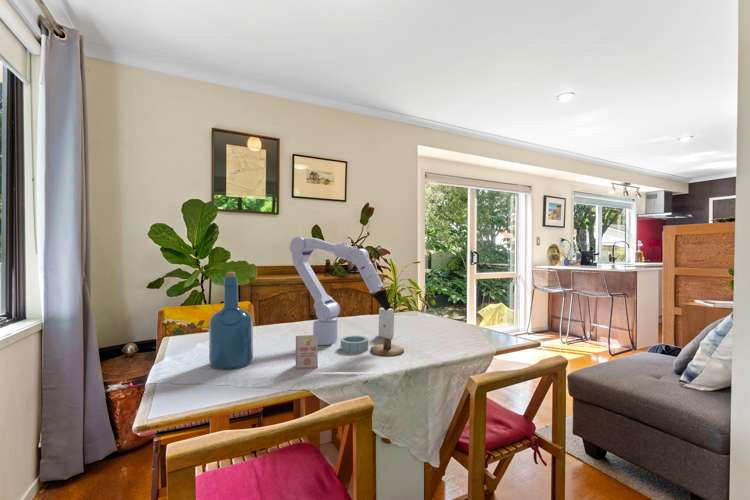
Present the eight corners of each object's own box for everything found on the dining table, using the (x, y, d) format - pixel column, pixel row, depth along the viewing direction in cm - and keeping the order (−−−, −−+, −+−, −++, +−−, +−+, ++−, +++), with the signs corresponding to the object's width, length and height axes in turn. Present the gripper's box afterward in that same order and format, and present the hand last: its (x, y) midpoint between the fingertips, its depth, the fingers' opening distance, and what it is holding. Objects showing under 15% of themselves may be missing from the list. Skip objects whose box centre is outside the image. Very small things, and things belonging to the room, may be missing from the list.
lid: (370, 356, 127) (370, 342, 126) (371, 346, 139) (371, 333, 138) (405, 356, 126) (405, 342, 126) (402, 346, 138) (402, 333, 138)
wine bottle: (210, 360, 124) (209, 271, 124) (252, 355, 129) (251, 270, 128) (207, 373, 111) (206, 274, 111) (253, 368, 116) (253, 273, 115)
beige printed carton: (296, 365, 119) (296, 334, 119) (317, 364, 120) (317, 333, 120) (295, 369, 115) (295, 337, 115) (317, 367, 117) (317, 336, 116)
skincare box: (377, 336, 155) (377, 307, 155) (387, 335, 157) (387, 306, 157) (385, 339, 150) (385, 310, 149) (394, 338, 152) (394, 309, 152)
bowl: (339, 354, 131) (339, 342, 131) (342, 346, 141) (342, 335, 141) (367, 354, 131) (367, 342, 130) (368, 346, 141) (368, 335, 140)
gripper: (379, 270, 132) (397, 304, 130) (380, 273, 146) (397, 304, 144) (362, 279, 132) (380, 313, 129) (365, 282, 146) (381, 313, 144)
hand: (388, 309), depth 137 cm, fingers open, 7 cm apart
